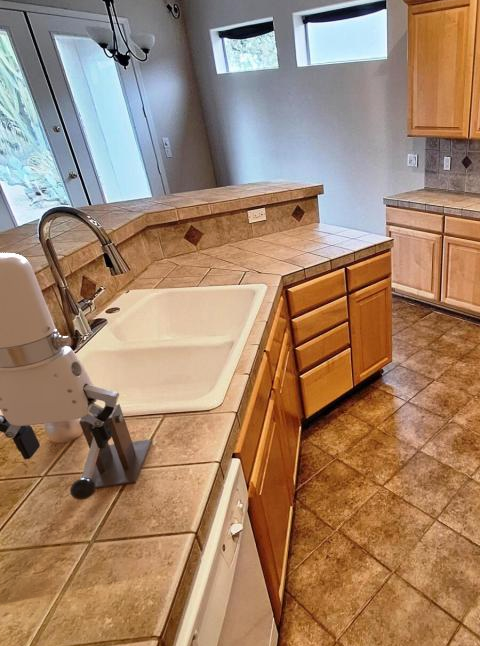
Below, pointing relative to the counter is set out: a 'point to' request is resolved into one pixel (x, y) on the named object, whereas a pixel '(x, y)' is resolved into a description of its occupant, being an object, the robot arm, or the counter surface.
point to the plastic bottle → (63, 430)
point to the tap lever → (86, 476)
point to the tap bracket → (117, 453)
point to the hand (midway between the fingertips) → (69, 447)
